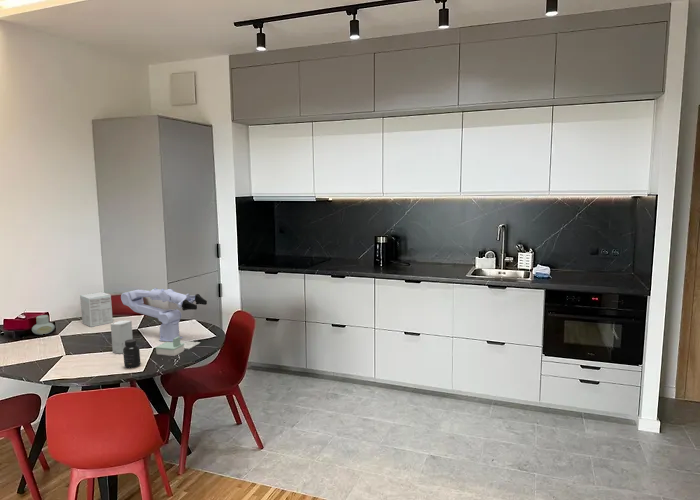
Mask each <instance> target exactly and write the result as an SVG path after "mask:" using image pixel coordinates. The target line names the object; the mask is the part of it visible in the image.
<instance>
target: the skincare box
mask: <svg viewBox="0 0 700 500" xmlns="http://www.w3.org/2000/svg"><path fill="white" fill-rule="evenodd" d="M110 332H111V348H112V349H111V350H112V353H113V354H119V355H123V348H124V347H125V341H126V340H130V339H134V337H133V324H132V320H123V319H122V320H118V321H116V322H113V323H110Z"/></svg>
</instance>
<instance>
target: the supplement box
mask: <svg viewBox="0 0 700 500" xmlns="http://www.w3.org/2000/svg"><path fill="white" fill-rule="evenodd" d="M79 296H80V297H79V300H80V310H81V311H80V312H81V322H82V324H83V325H85V326H88V327H89V328H92V327H97V326H102V325H103V326H104V325H107V324H113V323H114V322H113V308H112V305H113V304H112V295H111V294H110V293H106V292H102V291H99V292H94V293H85V294H81V295H79Z"/></svg>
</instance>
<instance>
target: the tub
mask: <svg viewBox="0 0 700 500" xmlns="http://www.w3.org/2000/svg"><path fill="white" fill-rule="evenodd" d="M155 351H156V355H158V356H167V357H168V356H169V357H176V356H178V355H180V354H181V353H184V352H185V349H184V345H183V346H182V347H180V348H178V349H176V350H164V349H156V348H155Z"/></svg>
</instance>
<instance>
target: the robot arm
mask: <svg viewBox="0 0 700 500" xmlns="http://www.w3.org/2000/svg"><path fill="white" fill-rule="evenodd" d="M144 298H150V299H151V300H152V301H153V300H154V301H155V300H156V301H161V302H162V303H165V302H169V303H174V304H175V305H177V308H179V309H177V308H174V309H170V308H169V309H165V308H160V307H157V306H152V305H149V304H145V302H144ZM120 299H121V302H122V304H123V306H127V307H129V308H130V309H131V310H132V311H133V312H134V313H137V314H141V315H145V316H148V317H152V318H155V319H157V320H158V322H161V324H160V326H159V339H158V341H160V342H173V339H174V338H176V337H180V340H181V339H183V338H184V337H183V336H181V335H180V322H181V321H180V320H181V319H182V312H181V311H180V309H181V310H182V311H188V310H192V311H193V310H195V311H197V309H198V305H204V306H206V305H207V304H208V303H207V302H208V300H206V299H204V298H203V297H202V296H201V295H200V294H199V293H196V294H195V295H190V293H186V294H185V293H180V292H178V291H175V290H174V289H172V288H168V289H165V288H161V289H160V288H159V289H158V287H155V288H153V289H151V290H145V289H134V290H130V291H126V292H122V293H121V295H120ZM194 302H195V303H194Z"/></svg>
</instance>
